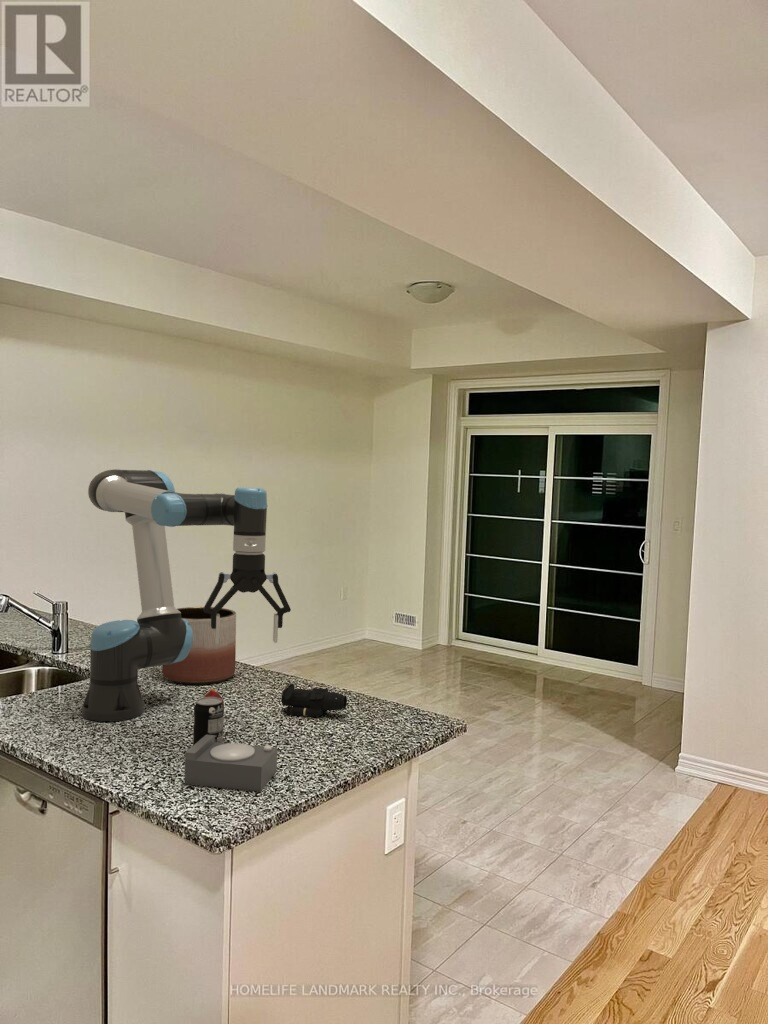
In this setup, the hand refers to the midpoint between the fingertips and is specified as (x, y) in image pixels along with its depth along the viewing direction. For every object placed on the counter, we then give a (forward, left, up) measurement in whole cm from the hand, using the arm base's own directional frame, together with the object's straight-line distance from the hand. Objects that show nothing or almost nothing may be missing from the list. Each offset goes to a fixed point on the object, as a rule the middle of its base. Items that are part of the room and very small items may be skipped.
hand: (246, 642), depth 179 cm
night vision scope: (+11, +23, -24) cm, 35 cm away
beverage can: (-5, -11, -24) cm, 26 cm away
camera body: (+5, -23, -23) cm, 33 cm away
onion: (-13, +12, -24) cm, 29 cm away
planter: (-32, +50, -24) cm, 64 cm away
